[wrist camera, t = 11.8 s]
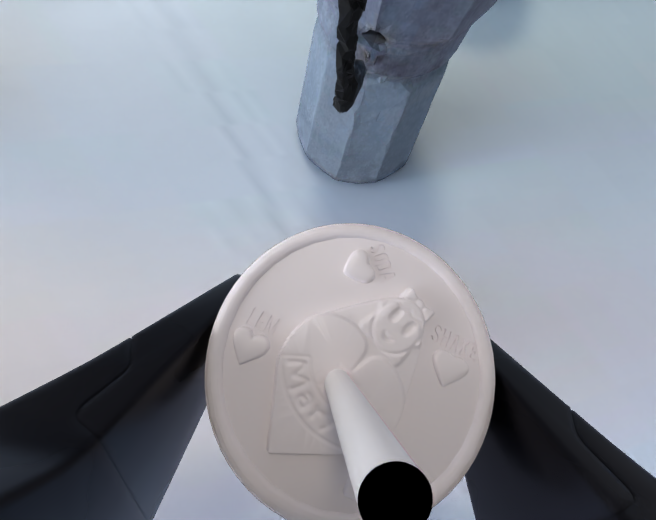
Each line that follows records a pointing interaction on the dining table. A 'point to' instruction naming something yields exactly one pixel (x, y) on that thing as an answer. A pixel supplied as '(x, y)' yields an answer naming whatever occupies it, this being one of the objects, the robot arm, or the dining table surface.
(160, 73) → the dining table surface
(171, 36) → the dining table surface
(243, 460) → the smoothie
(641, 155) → the dining table surface
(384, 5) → the moka pot
